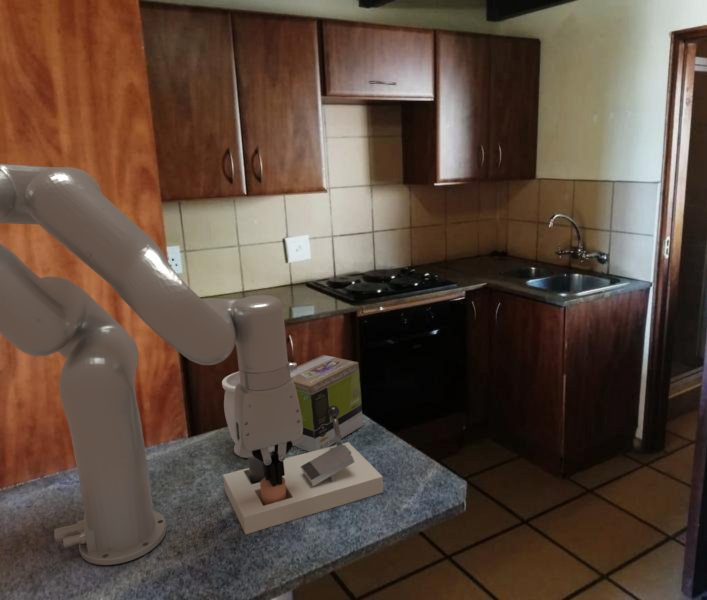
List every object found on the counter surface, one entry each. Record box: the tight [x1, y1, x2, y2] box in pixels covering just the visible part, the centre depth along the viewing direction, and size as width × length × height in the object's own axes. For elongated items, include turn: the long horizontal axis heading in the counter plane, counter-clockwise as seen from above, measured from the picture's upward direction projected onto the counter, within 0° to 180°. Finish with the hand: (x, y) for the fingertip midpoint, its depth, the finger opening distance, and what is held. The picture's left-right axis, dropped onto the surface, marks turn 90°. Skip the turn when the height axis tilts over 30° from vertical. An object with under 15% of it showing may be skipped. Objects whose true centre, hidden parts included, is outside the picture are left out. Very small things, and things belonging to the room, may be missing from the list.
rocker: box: [301, 444, 354, 486], centre depth 100 cm, size 8×5×1 cm, turn 115°
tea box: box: [290, 354, 364, 453], centre depth 120 cm, size 15×10×15 cm
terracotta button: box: [260, 477, 286, 506], centre depth 95 cm, size 4×4×4 cm
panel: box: [222, 441, 384, 535], centre depth 101 cm, size 24×14×4 cm, turn 115°
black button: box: [247, 451, 272, 485], centre depth 101 cm, size 4×4×4 cm
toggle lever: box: [328, 406, 343, 446], centre depth 108 cm, size 2×2×8 cm
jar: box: [221, 371, 274, 459], centre depth 115 cm, size 11×10×15 cm
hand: (274, 481), depth 95 cm, fingers closed
